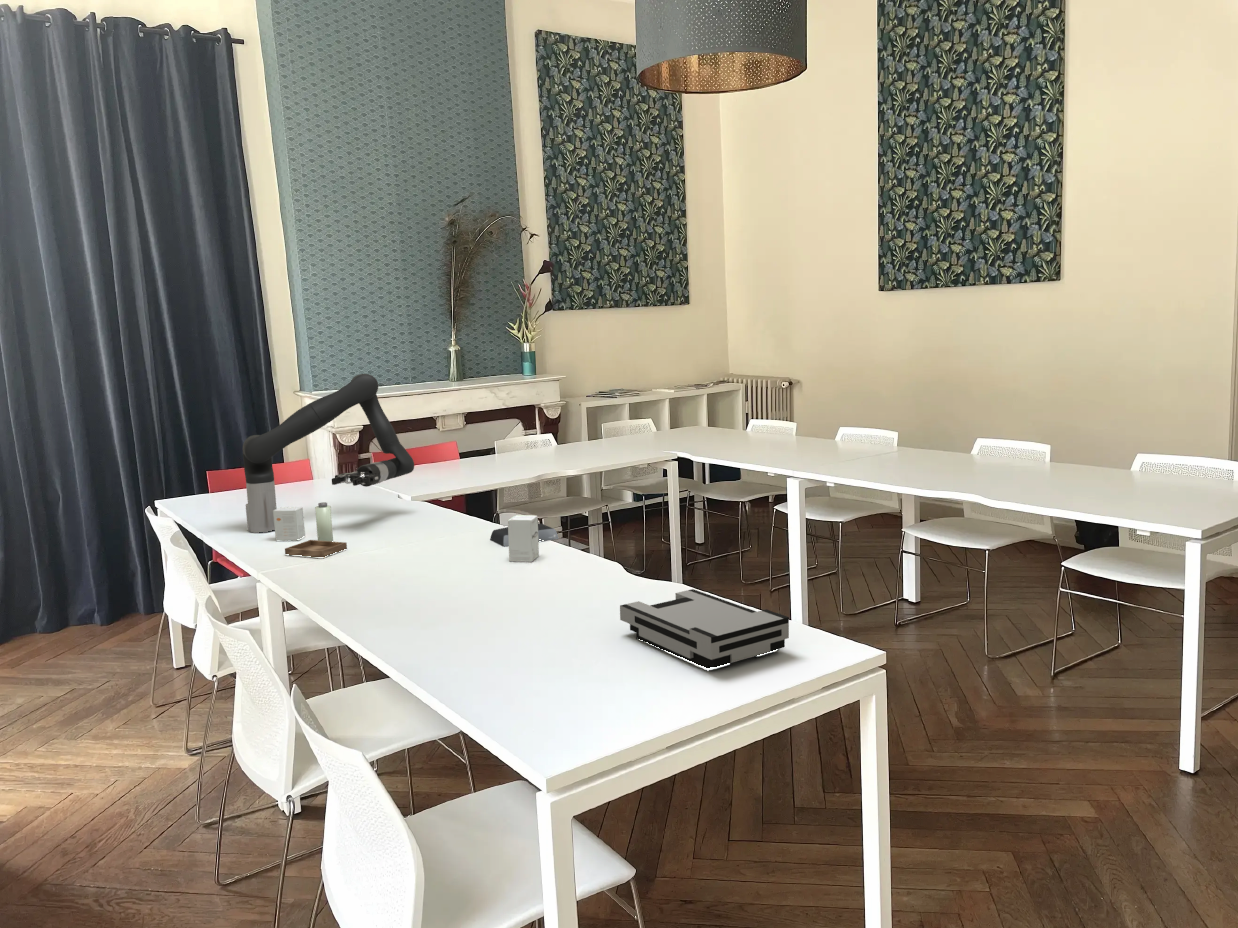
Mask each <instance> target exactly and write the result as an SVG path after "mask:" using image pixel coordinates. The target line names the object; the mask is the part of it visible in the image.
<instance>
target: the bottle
mask: <svg viewBox="0 0 1238 928" xmlns="http://www.w3.org/2000/svg"><path fill="white" fill-rule="evenodd" d="M314 509H315V522H316V534H317V535H316V537H317V540H319V541H333V542H334V535H333V534H334V533H333V520H332V518H333V517H332V508H331V505H328V502H318V504H317V505H316V506H315V507H314Z"/></svg>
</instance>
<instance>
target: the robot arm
mask: <svg viewBox="0 0 1238 928" xmlns="http://www.w3.org/2000/svg"><path fill="white" fill-rule="evenodd" d="M378 391H379V383H378V380H377V379H376V377H374V376H373V375H371V374H368V373H361V374H360V373H359V374H356V375H354V376H353V377H352V378H351V381H349V382H348V383H347V384H346V385H344V386H342V387H341V388H340V389H338V390H337V391H335V392H332V393H329V394H327V395H324V396H322V397H320V398H317V399H316V400H313V401H312V402H309V403H308V404H306V405H305V406H303V407H301V408H299V409H298V410H296V411H294V413H292V414H291V415H290V416H288V417H287V418H286V419H285V420H284V421H283V422H282V423H280V424H279V425H278V426H276V427H274V428H272V429H271V430H268V431H266V432H265V433H262V434H254V435H253V434H252V435H250V436H248V437H247V438H246V439H245V440H244V442H243V444H242V460H243V461H242V462H243V468H244V469H243V470H244V477H245V486H246V488H245V489H246V497H247V499H246V500H247V503H246V504H245V512H246V526H247V531H248V532H251V533H253V534H254V533H255V534H258V533H259V532H263V533H269V532H268V531H271V532H273V531H272V530H275V526H274V515H273V511H274V510H276V509H278V508H277V498H276V497H277V496H276V485H275V473H274V468H273V459H272V458H273V457H274V456H275V455H277V454H278V453H279V452H281V451H282V450H283V449H285V448H286V447H288V446H290V445H291V444H294V443H295V442H297V441H299V440H301V439H303V438H305V437H307V436H309V435H311V434H313V433H314V432H316V431H318V430H319V429H321V428H323V427H325V426H326V425H327V424H329V423H331V422H332V421H333V420H335V419H336V418H338V417H340V415H342V414H343V413H344V412H346V411H347V410H348V409H349V410H350V409H351V408H352V407H354V406H356V405H360V407H361V409H362V411H363V413H364V414H365V416H366V418H367V420H368V422H369V425H370V427H371V430H372V432H373V434H374V436H375V439H376V440H377V443H378V445H379V447H380V450H381V452H382V453H383V454H384V455H385V454H391V455H393V456H394V457H393V458H390V459H387V460H386V459H385V460H380V461H376V462H371V463H367V464H363V465H360V466H359V467H358V468H357V469H356V471H353V472H344V473H341V474H340V473H338V474H335V475H334V477H332V478H331V485H332V486H336V485H339V484H346V485H350V484H352V486H353V487H354V486H358V485H359V486H361V487H365V488H366V487H370V486H374V485H377V484H380V483H383V482H385V481H388V480H391V479H395V478H398V477H402V476H405V475H408V474H411V473H413V471H414V469H415V462H414V461H415V460H414V458H413V457H412V455H410V453H409V452H408V451H407V450H406V448H405V447H404V446H403V444H402V443H401V442H400V440H399V437H398V435H397V433H396V431H395V428H394V427H393V425H392V423H391V422H390V420H389V418H388V417H387V415H386V414H385V412H384V409H383V408H382V406H381V404H380V402H379V398H378V395H377V393H378ZM259 534H260V533H259Z"/></svg>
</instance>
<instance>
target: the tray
mask: <svg viewBox="0 0 1238 928" xmlns="http://www.w3.org/2000/svg"><path fill="white" fill-rule="evenodd" d="M347 543H348V542H344V541H333V542H332V541H319V540H318V539H317V540H315V539H309V540H306V541H303V542H300V543H297V544H294V545H291V546H288V547H285V548H284V555H285V554H289V555H302V556H311V557H325V556H327V555H330V554H333V553H335V552H339V551H341V550H344V549H347V550H348V545H347ZM339 553H340V552H339Z"/></svg>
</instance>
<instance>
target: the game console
mask: <svg viewBox="0 0 1238 928" xmlns="http://www.w3.org/2000/svg"><path fill="white" fill-rule="evenodd" d="M789 618H790V617H789V616H787V615H785V614H781V613H778V612H775V611H773V610H769V609H763V610H758V611H756V610H754V609H750V608H748V607H745V606H742V605H740V604H736V603H733V602H731V601H728V600H725V599H722V598H719V597H716V596H713V595H711V594H708V593H706V592H702V591H699V590H696V589H693V588H692V589H688V590H684V591H679V592H678V591H677V592H675V599H672V600H668V601H663V602H660V603H659V602H658V603H655V604H650V605H649V604H648V603H644V602H643V601H634V602H630V603H629V602H628V603H625V604H620V605H619V621H622V622H625V623H627V624H629V630H630V631H632V632H634V633H636V636H635V637H636V639H637V638H638V639H640V640H643V641H645V642H648V643H649V644H652V645H654V646H656V647H659V648H660V649H663V650H666V651H668V652H671V653H673V654H675V655H677V656H680V657H683V658H685V659H687V660H689V661H692V662H694V663H696V664H698V665H701V666H704V667H706V668H710V667H717V666H720V665H724V664H727V663H731V664H732V663H736V662H739V661H743V660H746V659H749V658H753V657H754V656H757V655H760V654H764V653H767V652H770V651H773V650H776V649H778V650H779V649H783V648H786V647H785V646H786V645H785V644H786V643H785V642H786V640H787V639H789V637H790V636H789V635H790V634H789V633H790V632H789V631H790V622H789V621H790V619H789Z"/></svg>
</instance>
